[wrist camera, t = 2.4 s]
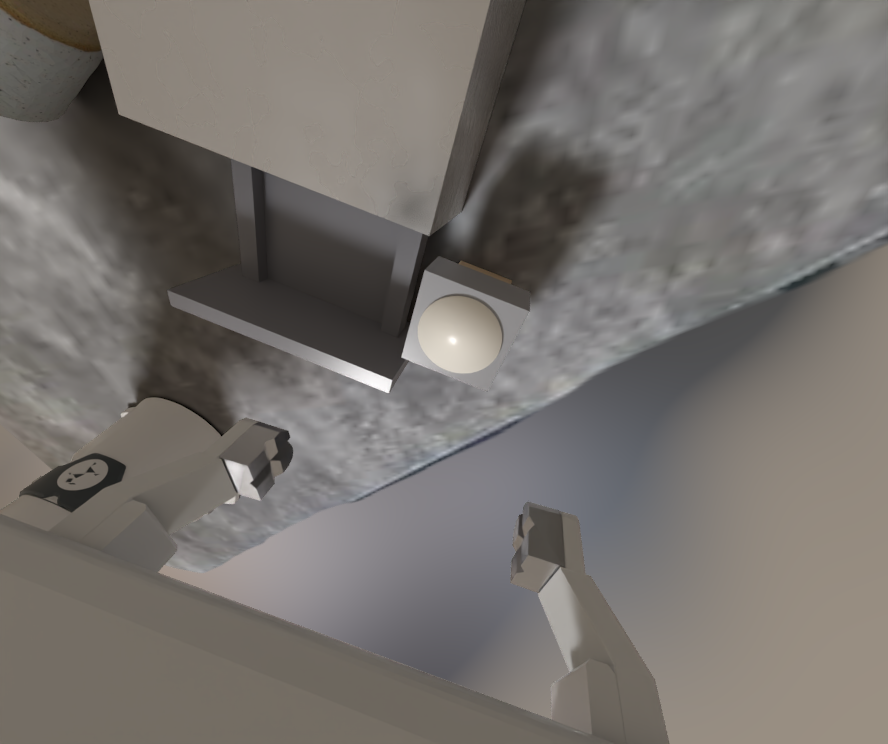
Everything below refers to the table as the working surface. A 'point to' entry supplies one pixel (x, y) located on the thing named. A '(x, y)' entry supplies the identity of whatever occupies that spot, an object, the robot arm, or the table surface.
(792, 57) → the table surface
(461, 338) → the push button
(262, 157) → the housing
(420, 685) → the robot arm
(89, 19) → the ceramic mug
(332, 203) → the tray
